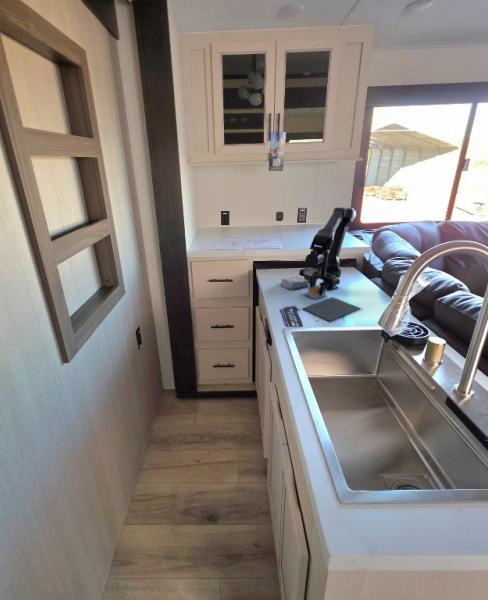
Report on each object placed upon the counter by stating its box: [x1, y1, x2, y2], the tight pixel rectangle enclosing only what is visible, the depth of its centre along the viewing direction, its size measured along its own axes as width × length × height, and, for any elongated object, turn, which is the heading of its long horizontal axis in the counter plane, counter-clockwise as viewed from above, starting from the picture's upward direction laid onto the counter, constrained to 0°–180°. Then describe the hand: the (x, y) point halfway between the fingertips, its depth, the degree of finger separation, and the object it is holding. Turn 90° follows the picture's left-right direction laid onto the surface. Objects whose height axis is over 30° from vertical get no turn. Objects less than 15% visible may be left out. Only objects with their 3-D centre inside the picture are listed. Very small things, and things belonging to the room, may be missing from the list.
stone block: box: [280, 275, 309, 291], centre depth 158 cm, size 12×5×10 cm
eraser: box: [307, 284, 327, 300], centre depth 145 cm, size 7×4×4 cm, turn 125°
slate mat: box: [302, 297, 361, 322], centre depth 133 cm, size 20×14×1 cm
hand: (316, 294), depth 146 cm, fingers closed on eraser, 4 cm apart
